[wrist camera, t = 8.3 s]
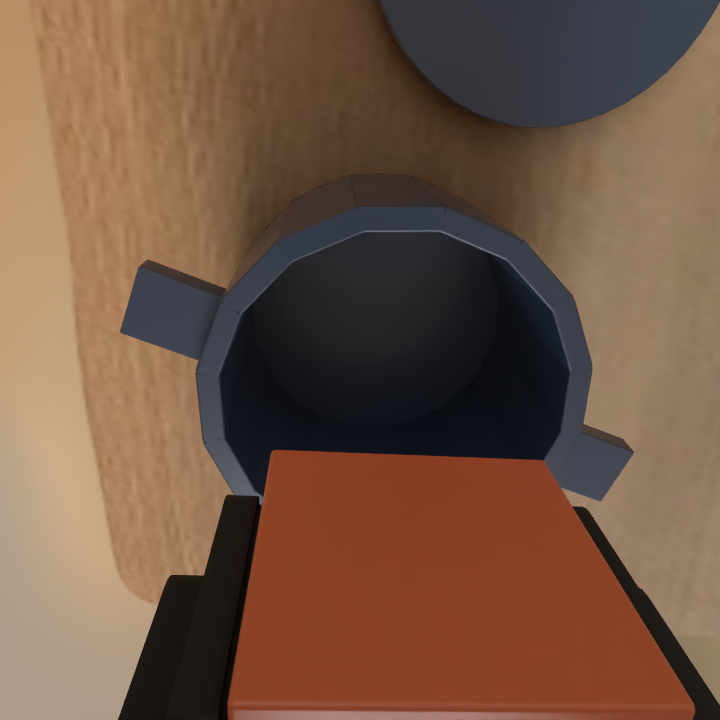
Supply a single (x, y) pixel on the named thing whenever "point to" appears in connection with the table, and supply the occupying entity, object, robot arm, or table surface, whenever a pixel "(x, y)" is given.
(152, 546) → the table surface
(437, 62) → the lid
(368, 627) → the block
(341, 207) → the pot
